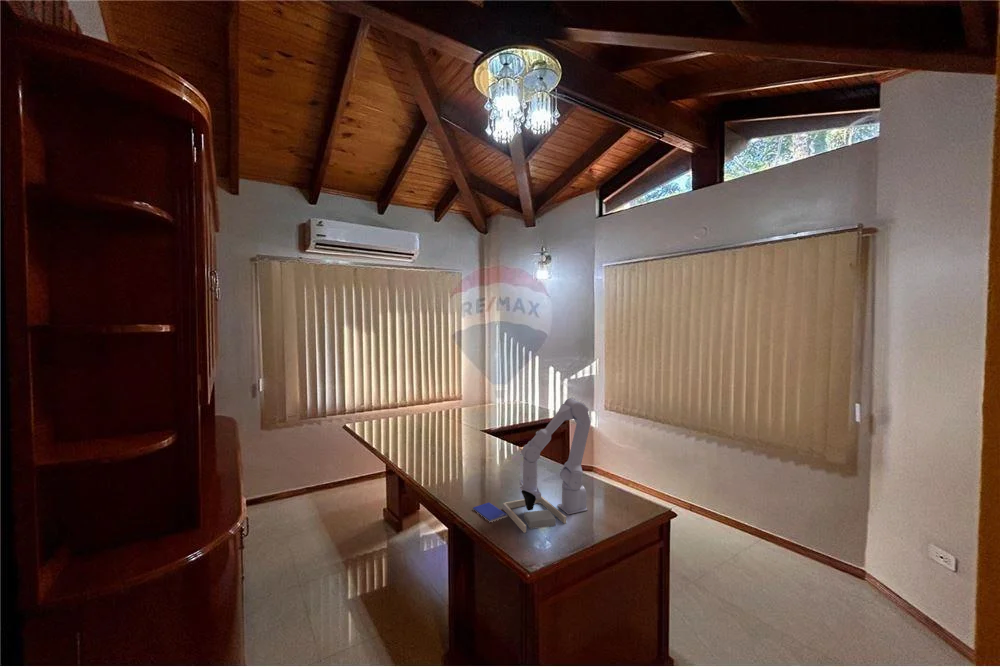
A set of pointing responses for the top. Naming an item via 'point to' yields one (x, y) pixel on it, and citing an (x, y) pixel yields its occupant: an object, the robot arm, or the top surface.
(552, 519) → the gray rectangular block
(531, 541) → the top surface
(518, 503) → the beige u-shaped frame
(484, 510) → the hard drive
